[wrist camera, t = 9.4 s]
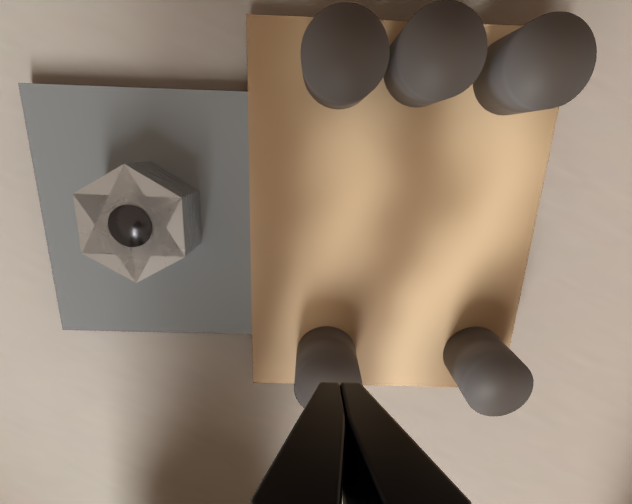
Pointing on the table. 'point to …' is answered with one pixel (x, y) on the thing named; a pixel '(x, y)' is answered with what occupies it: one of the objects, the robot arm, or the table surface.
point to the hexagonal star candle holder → (138, 219)
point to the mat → (175, 157)
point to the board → (400, 193)
